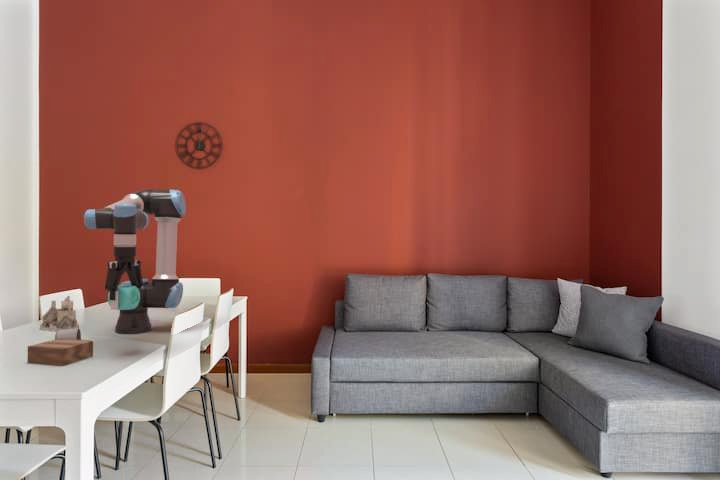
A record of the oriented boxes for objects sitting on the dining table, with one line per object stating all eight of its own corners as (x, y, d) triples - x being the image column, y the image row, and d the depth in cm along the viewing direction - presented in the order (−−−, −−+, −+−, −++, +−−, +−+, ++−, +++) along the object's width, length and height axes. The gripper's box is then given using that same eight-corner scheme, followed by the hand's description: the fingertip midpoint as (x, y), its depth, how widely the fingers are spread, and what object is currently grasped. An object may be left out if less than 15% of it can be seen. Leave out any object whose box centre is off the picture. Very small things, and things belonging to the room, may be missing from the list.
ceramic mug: (58, 346, 199) (58, 327, 199) (81, 345, 201) (81, 326, 201) (51, 352, 189) (51, 332, 189) (75, 351, 192) (75, 331, 191)
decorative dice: (140, 307, 191) (140, 285, 191) (128, 310, 183) (128, 288, 183) (120, 306, 192) (120, 285, 192) (107, 309, 184) (107, 287, 184)
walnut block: (60, 354, 187) (60, 338, 187) (92, 357, 184) (93, 340, 184) (27, 363, 174) (27, 346, 173) (62, 367, 171) (62, 349, 170)
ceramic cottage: (43, 326, 239) (44, 294, 238) (82, 326, 244) (83, 295, 243) (32, 334, 224) (34, 300, 223) (74, 334, 229) (76, 301, 228)
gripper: (138, 245, 199) (137, 302, 199) (93, 246, 178) (92, 311, 179) (153, 245, 196) (153, 304, 197) (110, 247, 176) (109, 312, 176)
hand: (124, 307), depth 188 cm, fingers closed on decorative dice, 9 cm apart
